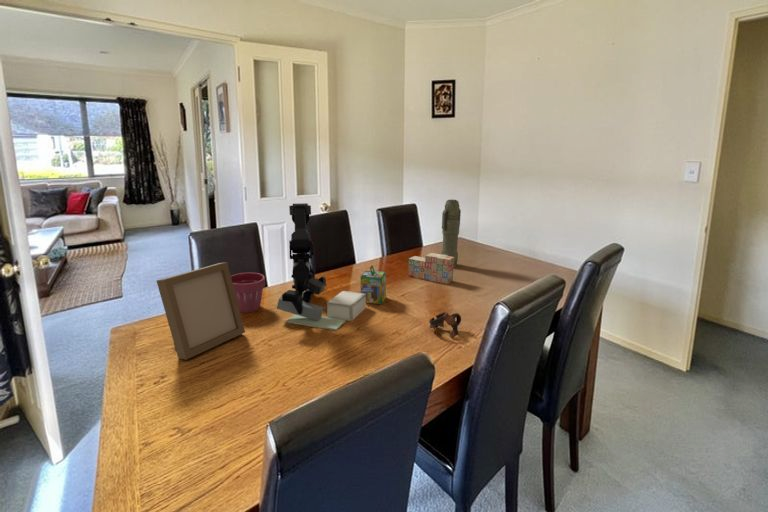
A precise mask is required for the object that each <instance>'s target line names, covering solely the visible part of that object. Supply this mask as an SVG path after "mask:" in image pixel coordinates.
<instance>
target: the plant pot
mask: <svg viewBox="0 0 768 512" xmlns="http://www.w3.org/2000/svg"><path fill="white" fill-rule="evenodd" d="M231 279H232V283H233V287H234V291H235V295H236V299H237V303H238V306H239V310H240V314H242V313H243V314H248V313H254V312H256V311H258V310H260V308H261V304H262V303H261V302H262V297H263V291H264V290H263V289H264V288H265V287H266V278H265V275H264V274H263V273H259V272H240V273H235V274H233V275H231Z"/></svg>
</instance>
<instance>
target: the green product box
mask: <svg viewBox="0 0 768 512" xmlns="http://www.w3.org/2000/svg"><path fill="white" fill-rule="evenodd" d="M373 265H374V264H371V265H370V267H369V270H364V272H363V273H362V274H361V275H360V277H359V278H360V293H364V294H366V304H375V305H376V304H377V305H383V303H384V301H385V300H386V296H387V294H386V293H387V289H386V288H387V287H386V286H387V283H386V282H387V273H386V271H379V270H375V267H374V266H373Z"/></svg>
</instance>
